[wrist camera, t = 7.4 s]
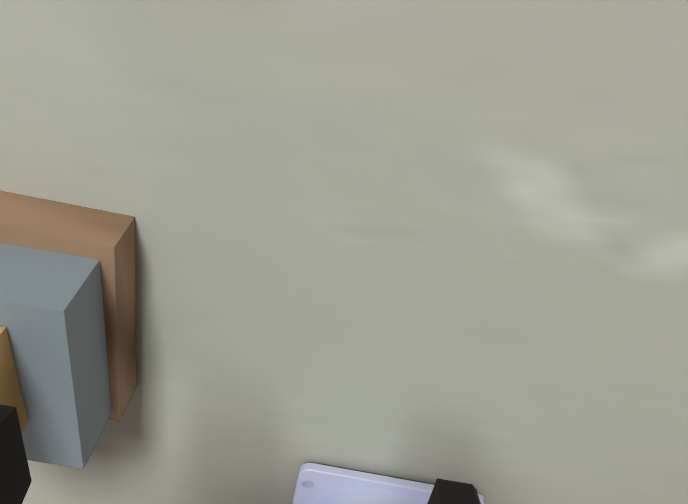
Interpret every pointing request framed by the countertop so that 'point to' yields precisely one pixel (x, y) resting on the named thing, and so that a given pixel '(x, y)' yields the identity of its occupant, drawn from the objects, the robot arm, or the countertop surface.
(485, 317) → the countertop surface
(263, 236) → the countertop surface
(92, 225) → the tower base
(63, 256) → the tower top
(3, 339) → the ochre cube
